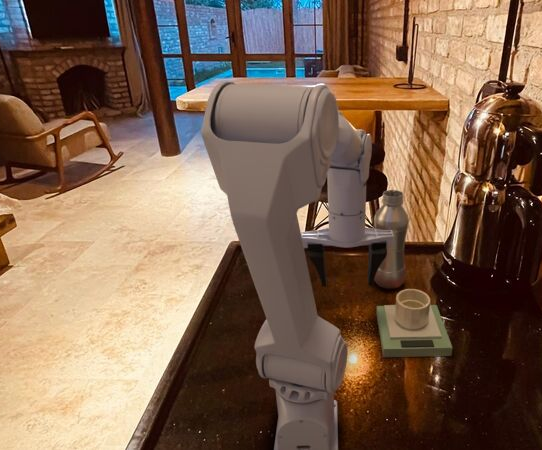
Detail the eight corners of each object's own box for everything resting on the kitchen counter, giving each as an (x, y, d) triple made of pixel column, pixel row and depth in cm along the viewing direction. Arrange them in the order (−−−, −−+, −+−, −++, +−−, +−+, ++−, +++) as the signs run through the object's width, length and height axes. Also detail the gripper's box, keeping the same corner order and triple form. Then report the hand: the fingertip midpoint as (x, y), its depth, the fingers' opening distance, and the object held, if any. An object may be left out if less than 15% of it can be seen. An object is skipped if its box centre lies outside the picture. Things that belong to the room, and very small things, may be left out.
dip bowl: (431, 330, 67) (434, 308, 65) (397, 331, 67) (398, 309, 65) (424, 309, 72) (426, 288, 70) (392, 309, 72) (393, 289, 70)
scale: (451, 356, 65) (453, 345, 64) (383, 357, 65) (383, 346, 64) (435, 312, 75) (436, 302, 74) (376, 313, 75) (376, 303, 74)
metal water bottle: (404, 294, 80) (411, 201, 71) (370, 291, 81) (372, 199, 73) (406, 276, 86) (412, 188, 77) (374, 273, 87) (376, 186, 78)
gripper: (391, 197, 65) (387, 268, 71) (300, 198, 65) (305, 270, 71) (397, 215, 59) (393, 292, 65) (297, 217, 59) (302, 294, 65)
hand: (347, 282), depth 68 cm, fingers open, 7 cm apart
